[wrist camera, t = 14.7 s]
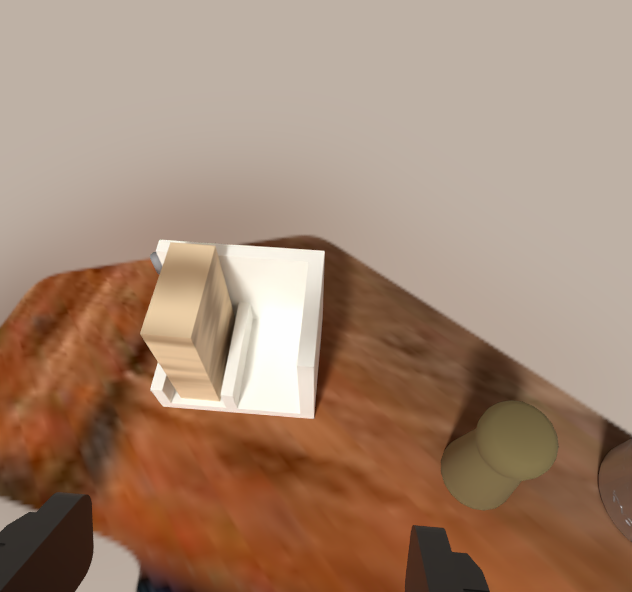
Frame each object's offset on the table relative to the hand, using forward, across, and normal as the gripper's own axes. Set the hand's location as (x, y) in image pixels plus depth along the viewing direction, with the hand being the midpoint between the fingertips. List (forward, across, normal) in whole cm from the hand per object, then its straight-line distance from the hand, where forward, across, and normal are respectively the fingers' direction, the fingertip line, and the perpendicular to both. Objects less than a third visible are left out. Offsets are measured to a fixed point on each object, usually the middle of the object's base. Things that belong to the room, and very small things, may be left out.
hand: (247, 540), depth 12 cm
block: (+32, +10, +7) cm, 34 cm away
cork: (+27, -15, +14) cm, 34 cm away
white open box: (+33, +7, +8) cm, 34 cm away
